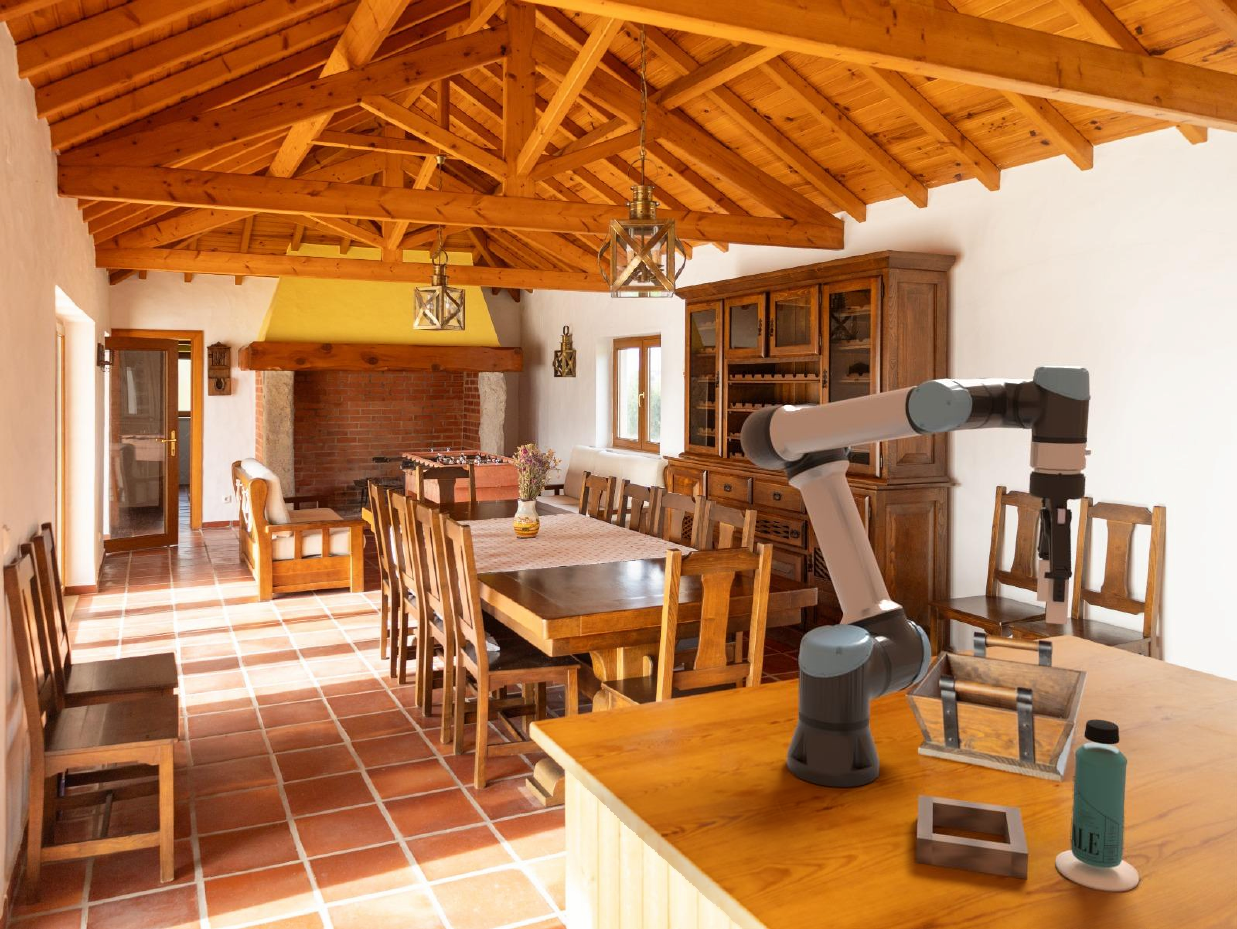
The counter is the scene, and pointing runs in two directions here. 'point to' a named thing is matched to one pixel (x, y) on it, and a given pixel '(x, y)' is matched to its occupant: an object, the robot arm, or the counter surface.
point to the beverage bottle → (1099, 797)
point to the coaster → (1097, 874)
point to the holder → (971, 851)
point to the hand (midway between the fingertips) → (1051, 611)
